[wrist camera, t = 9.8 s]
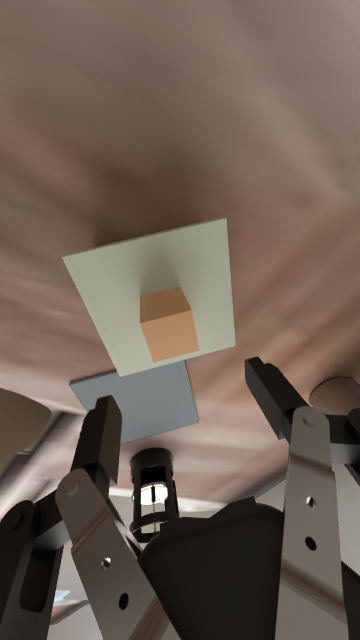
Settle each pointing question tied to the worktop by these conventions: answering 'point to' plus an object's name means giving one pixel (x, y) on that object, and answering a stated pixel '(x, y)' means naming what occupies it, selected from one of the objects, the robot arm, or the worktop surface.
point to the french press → (152, 490)
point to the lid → (159, 295)
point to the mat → (144, 399)
